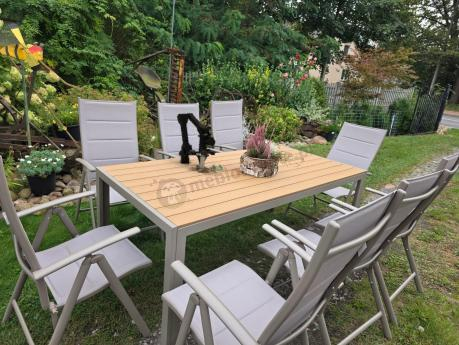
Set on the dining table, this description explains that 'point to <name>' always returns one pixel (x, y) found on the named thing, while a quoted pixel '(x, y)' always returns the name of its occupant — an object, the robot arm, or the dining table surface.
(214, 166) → the holder
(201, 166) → the long rectangular block
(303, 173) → the dining table surface
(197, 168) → the frame
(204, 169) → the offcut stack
